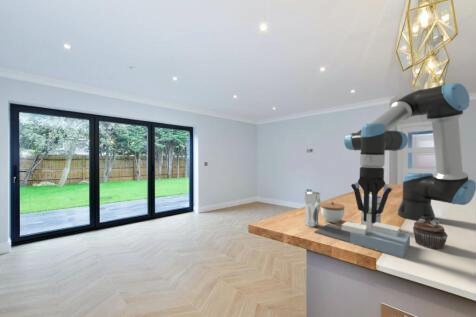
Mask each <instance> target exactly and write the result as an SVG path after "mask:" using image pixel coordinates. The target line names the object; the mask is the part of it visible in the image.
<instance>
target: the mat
mask: <svg viewBox="0 0 476 317" xmlns="http://www.w3.org/2000/svg"><path fill="white" fill-rule="evenodd" d="M313 233H315V234H318V235H322V236H325V237H329V238H332V239H335V240H338V239H339V240H338V241H343V242H345V241H346V243H349V242H350V232H349V231H345V230H342V226H338V225H334V224H330V223H327V224H326V225H323V226H322V227H320V228H318V229H316V230H315V231H313Z"/></svg>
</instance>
